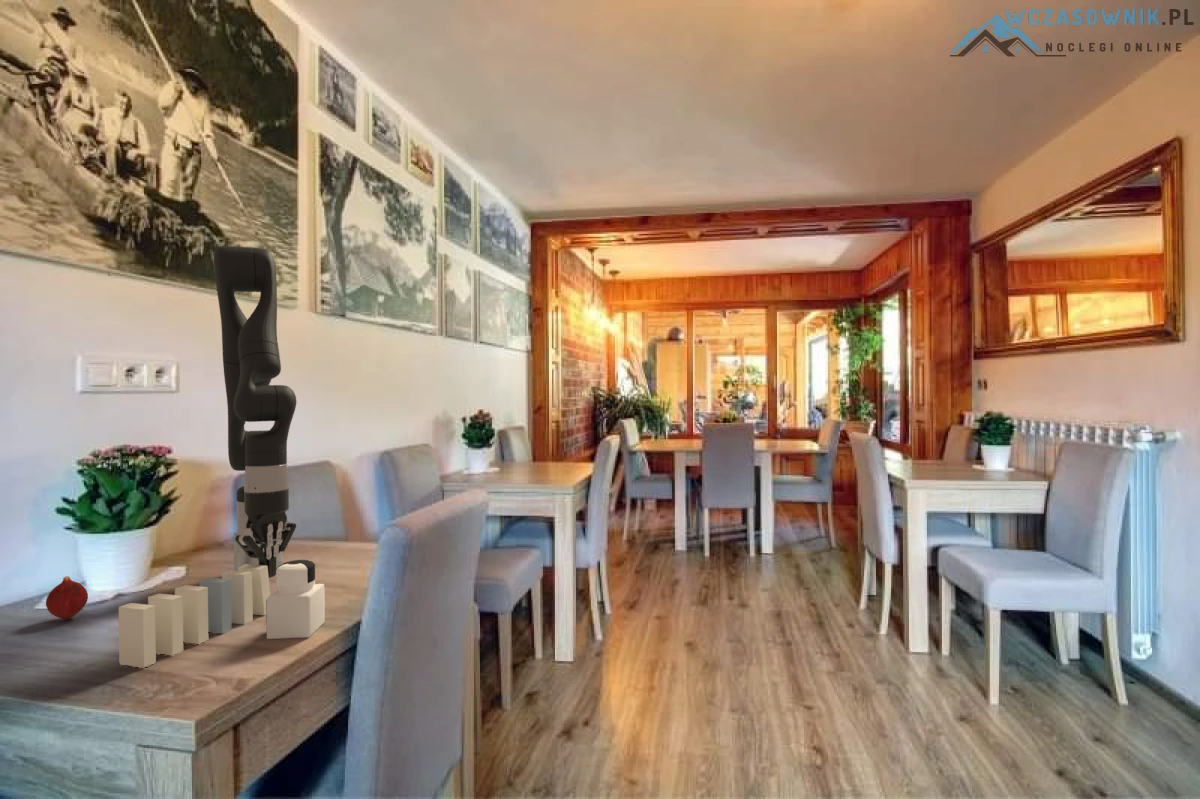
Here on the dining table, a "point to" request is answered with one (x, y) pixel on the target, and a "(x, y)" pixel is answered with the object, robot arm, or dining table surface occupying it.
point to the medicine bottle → (295, 602)
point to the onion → (66, 599)
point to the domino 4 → (218, 604)
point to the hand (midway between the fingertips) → (267, 577)
